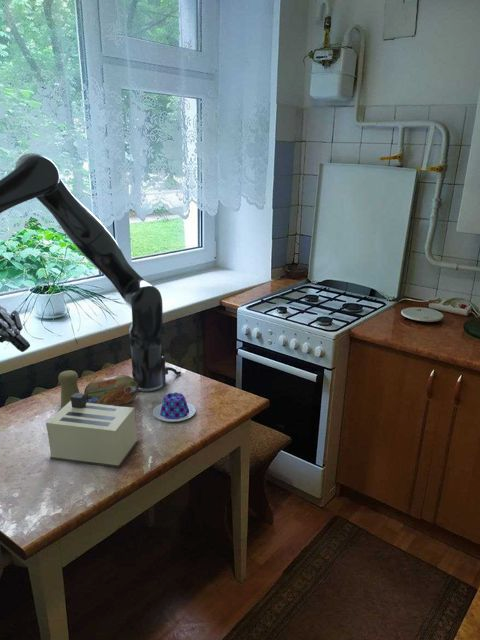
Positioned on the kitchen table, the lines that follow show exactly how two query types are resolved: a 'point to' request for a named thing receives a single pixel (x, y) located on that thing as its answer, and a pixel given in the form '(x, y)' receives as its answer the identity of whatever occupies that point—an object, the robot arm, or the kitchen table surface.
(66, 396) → the pepper mill
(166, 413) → the pudding
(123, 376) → the tin
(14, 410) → the kitchen table surface
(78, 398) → the slider button
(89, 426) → the toaster
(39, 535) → the kitchen table surface
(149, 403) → the kitchen table surface
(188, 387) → the kitchen table surface
